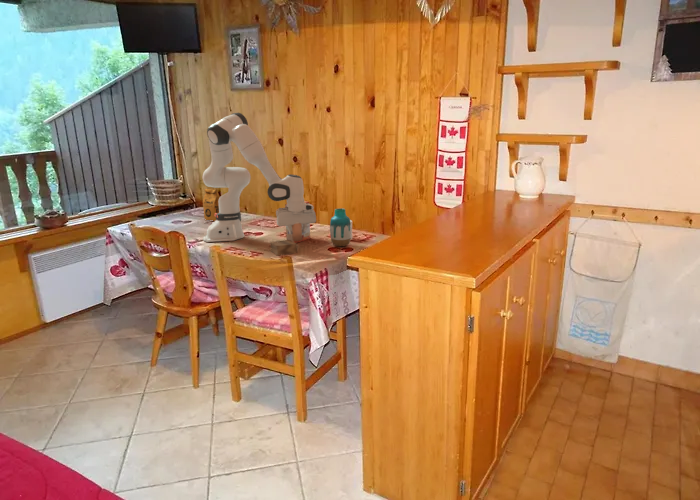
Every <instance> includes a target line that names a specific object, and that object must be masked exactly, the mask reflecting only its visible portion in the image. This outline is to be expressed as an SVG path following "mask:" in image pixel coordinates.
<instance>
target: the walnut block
mask: <svg viewBox="0 0 700 500" xmlns="http://www.w3.org/2000/svg"><path fill="white" fill-rule="evenodd" d="M297 244H298V243H295V242H293V241H291V240H287V239H284V240H277V241H276V240H275V241H270V244H269V245H270V252H271V253H273V254H274V255H276V256H283V255H284V256H285V255H291V254H297V253H298V249H297V248H298V247H297V246H298V245H297Z"/></svg>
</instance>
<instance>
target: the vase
mask: <svg viewBox="0 0 700 500" xmlns="http://www.w3.org/2000/svg"><path fill="white" fill-rule="evenodd" d="M350 220H351V218H350V217H349V216H347V214H346V208H343V207H342V208H335V209H334V215H333V216H331V218H330V222H329V223H330V225H329V226H330V227H329V229H330V230H329V232H330V241H331V243H332V244H333V245H334V246H336V247H346V246H348V245H349V244H350V242H351V222H350Z"/></svg>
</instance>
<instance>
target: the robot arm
mask: <svg viewBox="0 0 700 500" xmlns="http://www.w3.org/2000/svg"><path fill="white" fill-rule="evenodd" d="M206 130H207V131H206V135H207V137H208V143H209V145H208V146H209V150H210V155H211V162H210V165H209V166H208V167H207V168H206V169H204V171H203V173H202V181H203V184H204V185H205V186H206V187H209V188H215V189H217V188H219V189H222V188H226V189H227V188H228V189H227V190H228V192H226V193H224V194H222V195H221V196H219V197H220V198H219V200H218V203H219V213H218V214H217V213H215V215H214V216H215V217H216V221H215V222H212V223H211V224H210V225H209V226H208V227H207V230H206V235H204V236H203V238H202V240H203V242H205V243H206V242H207V243H211V242H229V241H236V240H240V239H242V238H243V239H244V237H245V234H244V231H243V228H242V227H243V226H242V213H241V210H240V197H241V194H242V192H243V190H244V189H245V188H246V187H247V186H248V185H249V184H250V182H251V179H252V176H251V173H250V171H249V169H247V168H246V167H241V166H227V165H229V164H230V163H232V161H233V159H234V152H233V147H232V146H233V145H232V142H233V144H235V146H236V147H237V149H238V151H239V153H240V154H241V155H242V157H243V158H244V160H245V161H247V163H248V164H250V165H253V166H255V167H256V168H257V169H258V170H259V171H260V172H261V174H262V176H263V177H264V179H265V180H266V182H267V183H268V186H269V187H268V189H267V196H268V198H269V199H270V200H271V201H274V202H281V201H285V200H286V204H287V207H286V208H285V207H279V208H278V209H275V215H276V225H277V226H278V227H286V226H287V228H288V230H289V234H293V230H290V225H294V224H296V223H297V222H299V223H301V224H303V226H304V227H303V229H302V233H305V228H306V226H307V224H311V225H312V224H315V223H316V222H317V216H316V212H315V210H314V208H315V207H314V205H313V204H310V203H309V204H308V203H304V201H305V197H304V193H305V187H304V181H303V178H302V177H301V176H300V175H297V174H287V175H286V176H285V177H283V178H282V177H280V176H279V174H278V173H277V172H276V170H275V169H274V167H273V164H271V162H270V160H269V158H268V155H267V153H266V151H265V149H264V147H263V144H262V142H261V140H260V139H259V138H258V136H257V135H256V133H255V132H254V130H253V129H252V128H251V127H250V126H249V123H248V120H247V118H246V116H244V114H243V113H241V112H234V113H231V114H230V115H227V116H224V117H223V118H221V119H219V120H218V121H216V122H215V123H212V124H210V126H208V128H207V129H206Z"/></svg>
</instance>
